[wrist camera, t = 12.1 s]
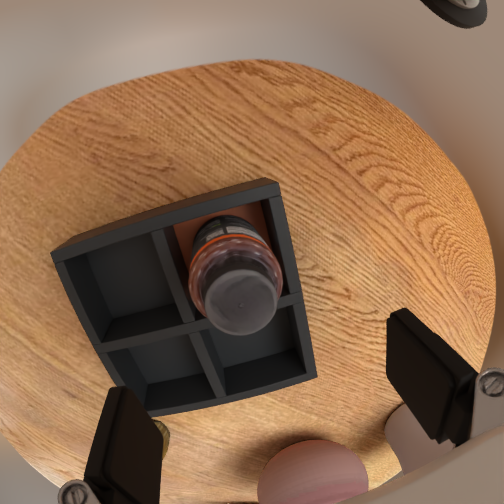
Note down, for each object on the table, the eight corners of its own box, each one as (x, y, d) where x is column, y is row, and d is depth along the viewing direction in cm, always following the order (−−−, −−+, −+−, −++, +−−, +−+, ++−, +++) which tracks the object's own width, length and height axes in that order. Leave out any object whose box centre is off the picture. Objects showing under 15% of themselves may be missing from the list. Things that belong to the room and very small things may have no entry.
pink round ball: (237, 473, 39) (250, 552, 25) (272, 415, 35) (300, 514, 21) (319, 473, 42) (345, 540, 28) (364, 419, 38) (407, 494, 24)
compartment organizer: (73, 236, 25) (49, 252, 21) (265, 177, 26) (278, 181, 22) (144, 388, 31) (138, 419, 27) (303, 348, 32) (317, 377, 28)
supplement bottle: (234, 290, 28) (251, 367, 18) (179, 255, 27) (163, 320, 16) (274, 237, 27) (316, 291, 17) (218, 199, 26) (226, 229, 15)
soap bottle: (448, 391, 41) (526, 483, 17) (401, 441, 43) (461, 537, 20) (409, 379, 37) (503, 500, 14) (356, 437, 40) (418, 559, 17)
